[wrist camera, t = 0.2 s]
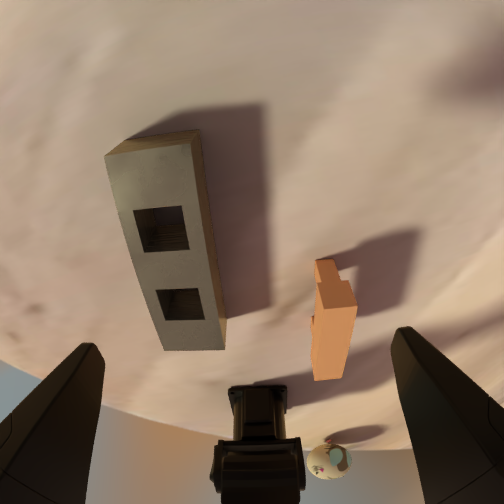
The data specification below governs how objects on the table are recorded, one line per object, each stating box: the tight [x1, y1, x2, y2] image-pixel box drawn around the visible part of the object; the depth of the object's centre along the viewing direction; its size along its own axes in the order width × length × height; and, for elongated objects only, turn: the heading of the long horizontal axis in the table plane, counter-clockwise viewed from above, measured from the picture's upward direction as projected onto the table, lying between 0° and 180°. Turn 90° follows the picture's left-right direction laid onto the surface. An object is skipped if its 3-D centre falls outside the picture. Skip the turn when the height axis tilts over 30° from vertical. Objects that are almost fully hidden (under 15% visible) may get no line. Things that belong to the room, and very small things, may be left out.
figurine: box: [307, 439, 352, 479], centre depth 41 cm, size 8×6×7 cm
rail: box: [104, 130, 227, 351], centre depth 22 cm, size 16×5×3 cm, turn 4°
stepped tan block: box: [311, 259, 358, 381], centre depth 24 cm, size 8×2×6 cm, turn 4°
